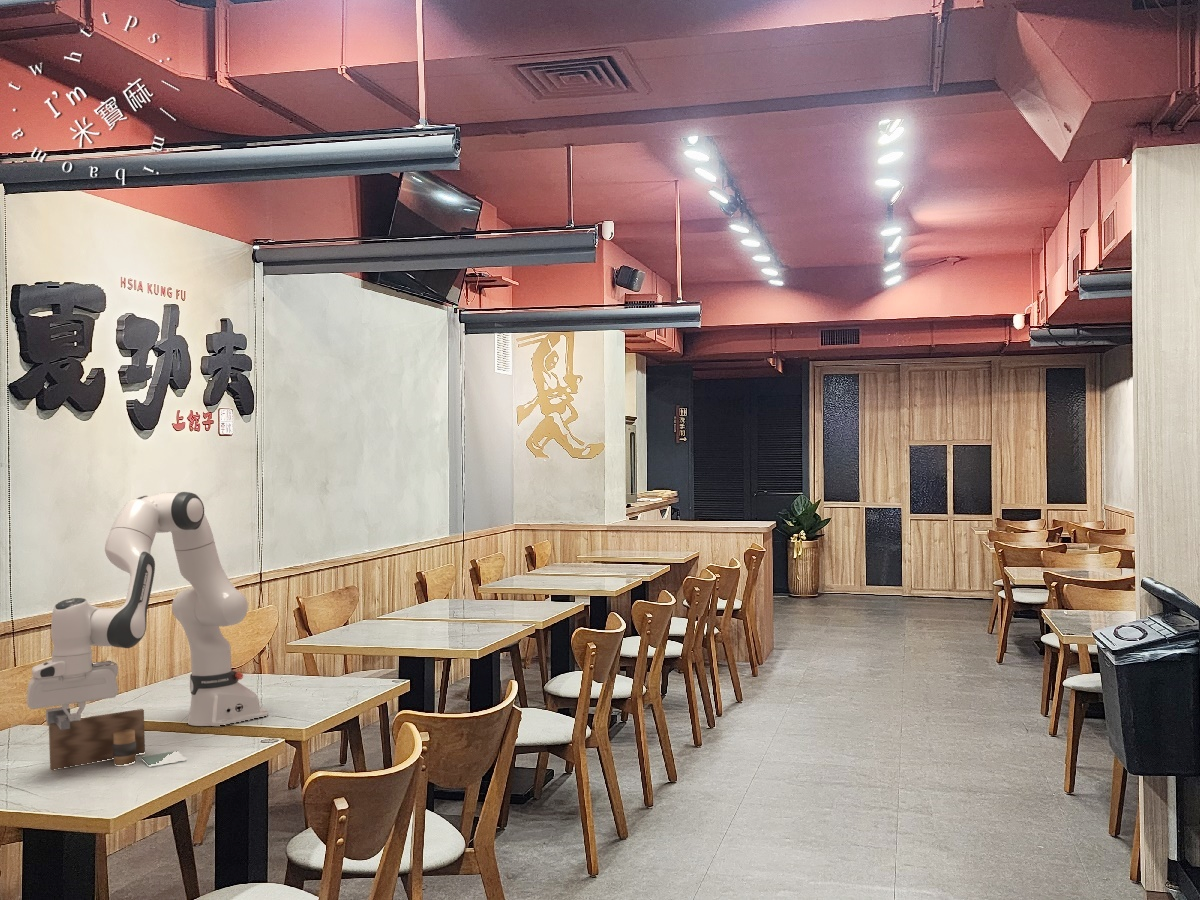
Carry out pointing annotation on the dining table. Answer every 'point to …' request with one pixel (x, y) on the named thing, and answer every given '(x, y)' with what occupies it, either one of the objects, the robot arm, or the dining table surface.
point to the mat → (155, 758)
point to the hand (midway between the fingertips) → (73, 721)
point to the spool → (124, 747)
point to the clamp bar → (58, 717)
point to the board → (93, 738)
